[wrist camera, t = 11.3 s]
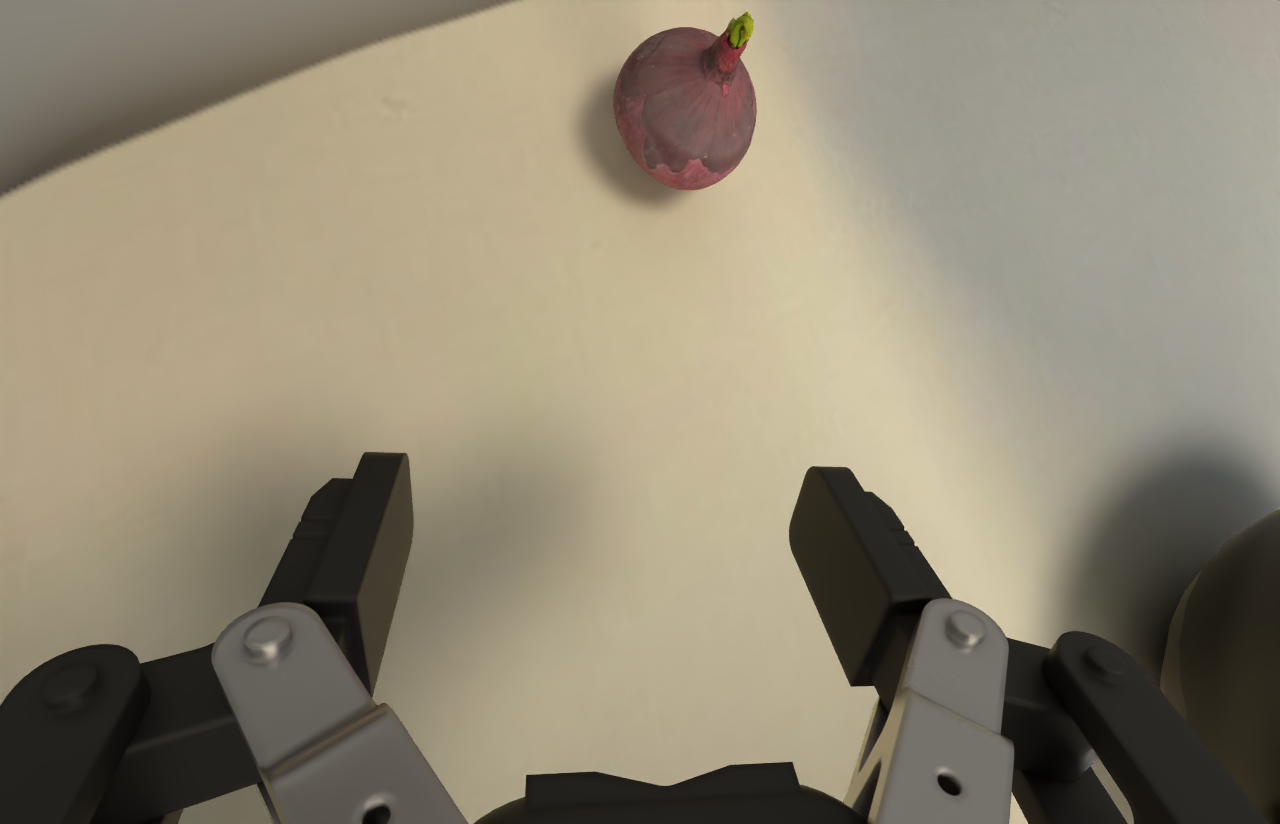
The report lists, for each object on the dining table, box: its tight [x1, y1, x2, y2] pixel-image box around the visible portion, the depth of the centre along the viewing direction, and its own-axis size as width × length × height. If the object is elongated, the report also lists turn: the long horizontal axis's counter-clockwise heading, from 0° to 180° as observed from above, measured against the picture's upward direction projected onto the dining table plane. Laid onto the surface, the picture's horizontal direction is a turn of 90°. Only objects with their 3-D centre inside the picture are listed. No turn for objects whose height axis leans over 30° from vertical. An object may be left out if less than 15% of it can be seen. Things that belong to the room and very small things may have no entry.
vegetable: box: [613, 12, 757, 190], centre depth 26 cm, size 6×6×10 cm
